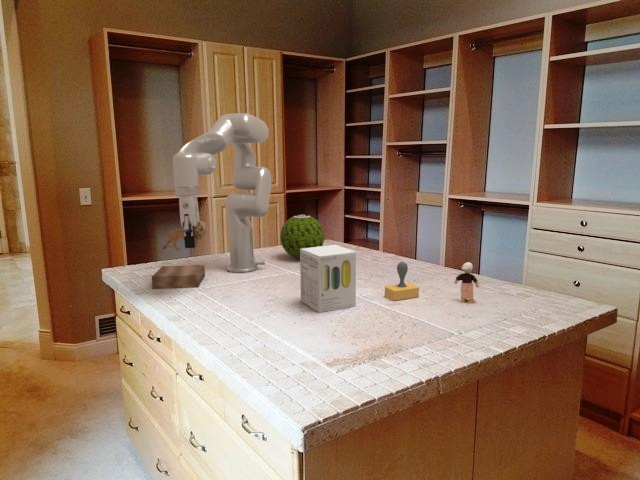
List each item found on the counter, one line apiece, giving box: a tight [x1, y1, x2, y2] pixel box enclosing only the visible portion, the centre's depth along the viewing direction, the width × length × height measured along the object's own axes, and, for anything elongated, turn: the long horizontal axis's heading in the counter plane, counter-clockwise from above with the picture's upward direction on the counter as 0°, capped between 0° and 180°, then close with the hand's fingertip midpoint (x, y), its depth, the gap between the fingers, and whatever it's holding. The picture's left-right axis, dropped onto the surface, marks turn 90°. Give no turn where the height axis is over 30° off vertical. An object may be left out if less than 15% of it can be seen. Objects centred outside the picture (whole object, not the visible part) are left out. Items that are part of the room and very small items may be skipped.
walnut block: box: [151, 264, 206, 290], centre depth 174 cm, size 16×16×5 cm
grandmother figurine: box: [453, 261, 480, 304], centre depth 148 cm, size 8×4×13 cm, turn 71°
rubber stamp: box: [384, 261, 420, 302], centre depth 153 cm, size 10×6×12 cm, turn 115°
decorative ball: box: [280, 214, 325, 260], centre depth 210 cm, size 20×20×20 cm
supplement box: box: [299, 244, 357, 313], centre depth 146 cm, size 13×13×18 cm
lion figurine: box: [162, 220, 208, 251], centre depth 156 cm, size 15×5×9 cm, turn 110°
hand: (191, 245), depth 157 cm, fingers closed on lion figurine, 4 cm apart
